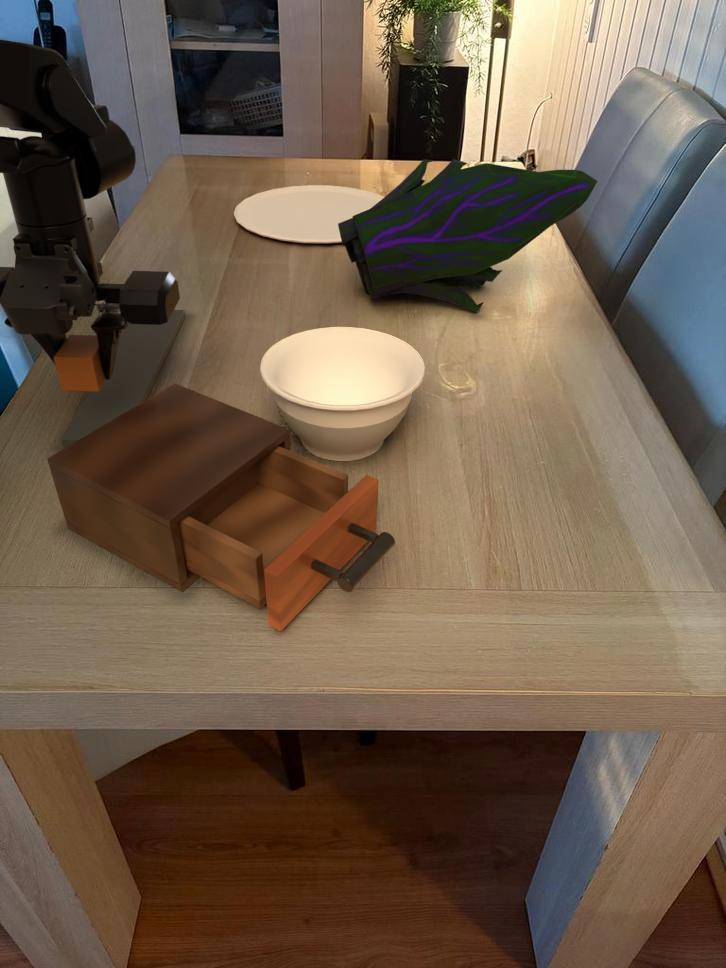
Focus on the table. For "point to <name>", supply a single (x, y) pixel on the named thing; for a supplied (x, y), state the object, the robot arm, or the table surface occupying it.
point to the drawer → (285, 533)
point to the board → (127, 376)
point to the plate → (303, 212)
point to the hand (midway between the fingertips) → (88, 377)
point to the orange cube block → (80, 364)
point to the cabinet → (157, 474)
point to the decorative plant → (456, 227)
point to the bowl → (342, 387)
